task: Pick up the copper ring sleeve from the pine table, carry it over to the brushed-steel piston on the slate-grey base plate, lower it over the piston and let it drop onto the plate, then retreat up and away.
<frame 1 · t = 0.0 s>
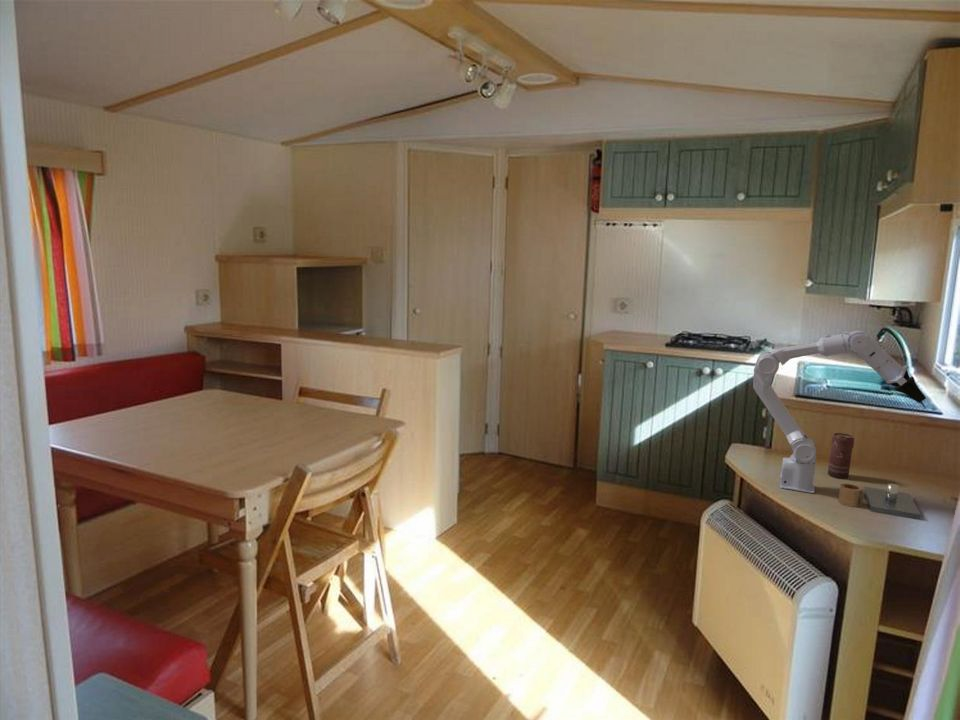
hand: (920, 397, 185), 32 cm above the kitchen counter, tool tilted 50°, fingers open, 7 cm apart
can: (838, 476, 214), on the kitchen counter
piston jig: (890, 504, 191), on the kitchen counter
ring: (849, 503, 191), on the kitchen counter
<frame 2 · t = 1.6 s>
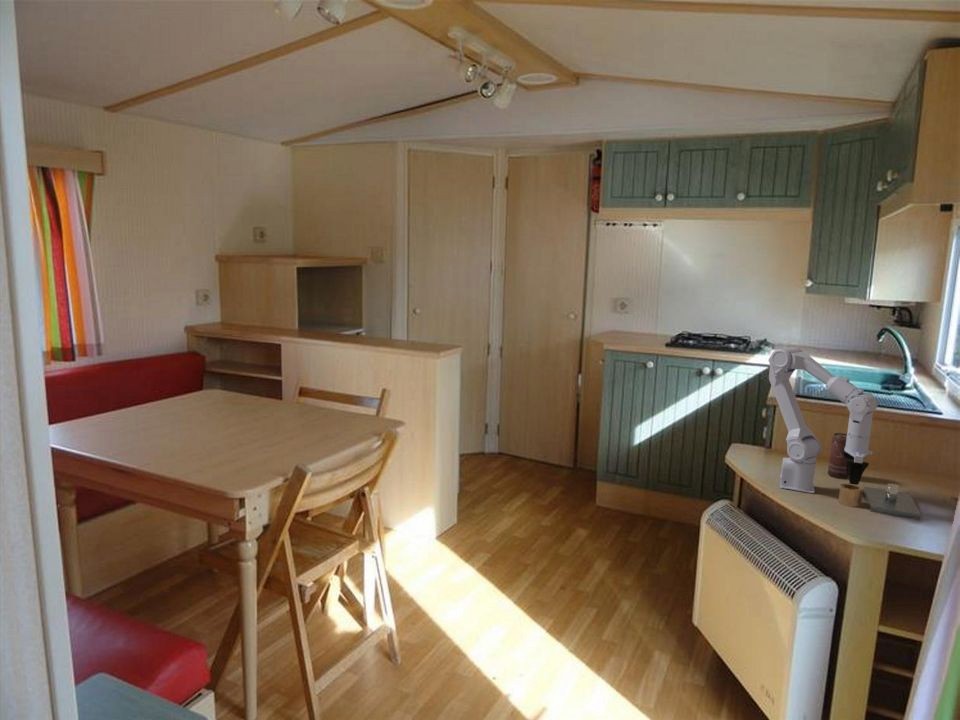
hand: (852, 479, 189), 7 cm above the kitchen counter, tool pointing down, fingers open, 7 cm apart
nothing on the kitchen counter moved.
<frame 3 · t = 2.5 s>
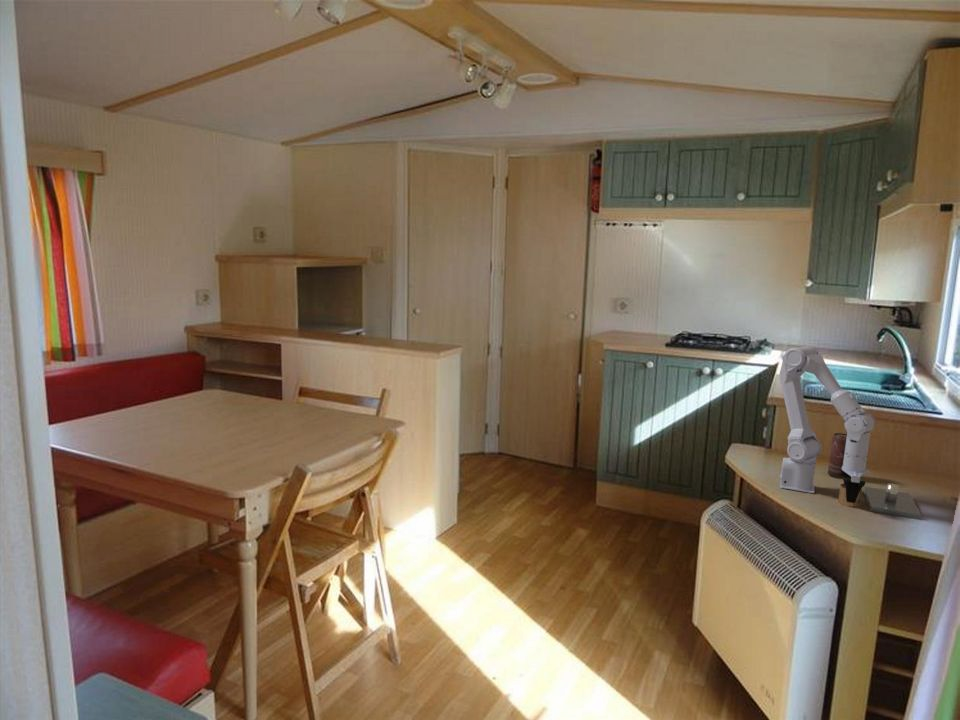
hand: (849, 498, 190), 1 cm above the kitchen counter, tool pointing down, fingers closed on ring, 5 cm apart
ring: (849, 503, 191), on the kitchen counter, touching gripper
everything else where it was.
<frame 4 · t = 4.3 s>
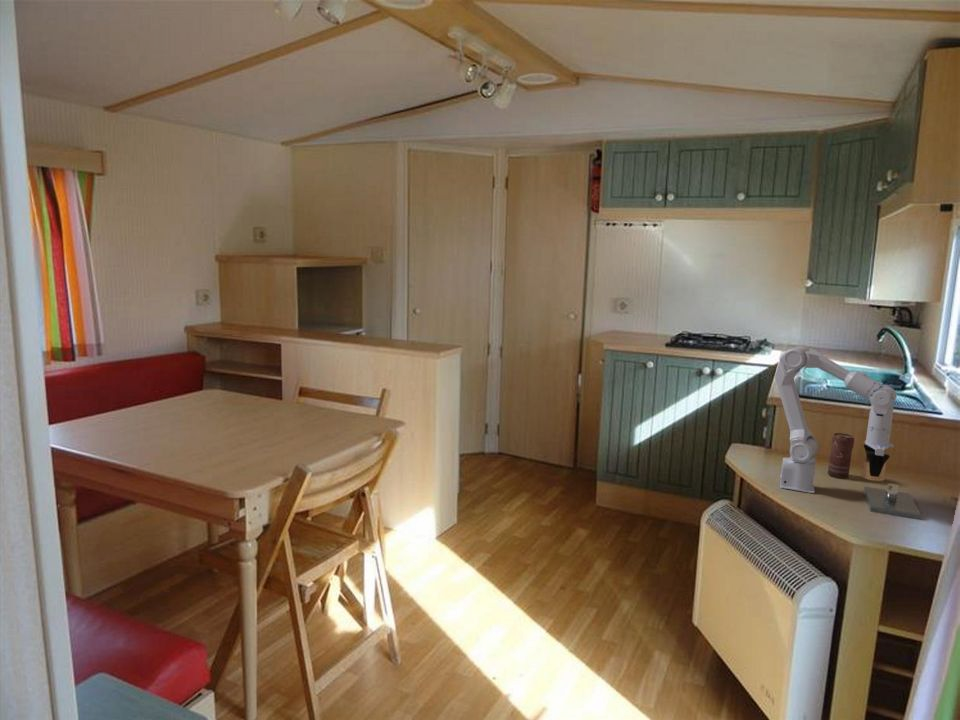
hand: (873, 473, 189), 10 cm above the kitchen counter, tool pointing down, fingers closed on ring, 5 cm apart
ring: (872, 477, 189), point 8 cm above the kitchen counter, touching gripper
everything else where it was.
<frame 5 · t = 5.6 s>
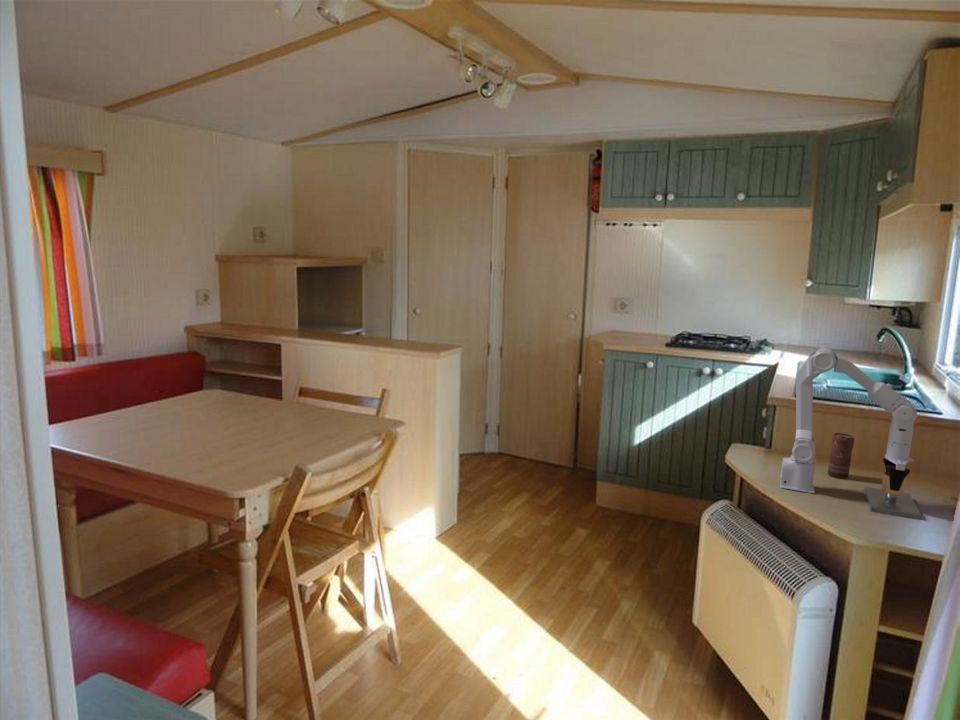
hand: (892, 486, 190), 5 cm above the kitchen counter, tool pointing down, fingers closed on ring, 5 cm apart
ring: (892, 491, 190), point 4 cm above the kitchen counter, touching gripper
everything else where it was.
when the fingers open (5 cm above the kitchen counter, at t = 6.4 s): ring drops 2 cm, resting on piston jig.
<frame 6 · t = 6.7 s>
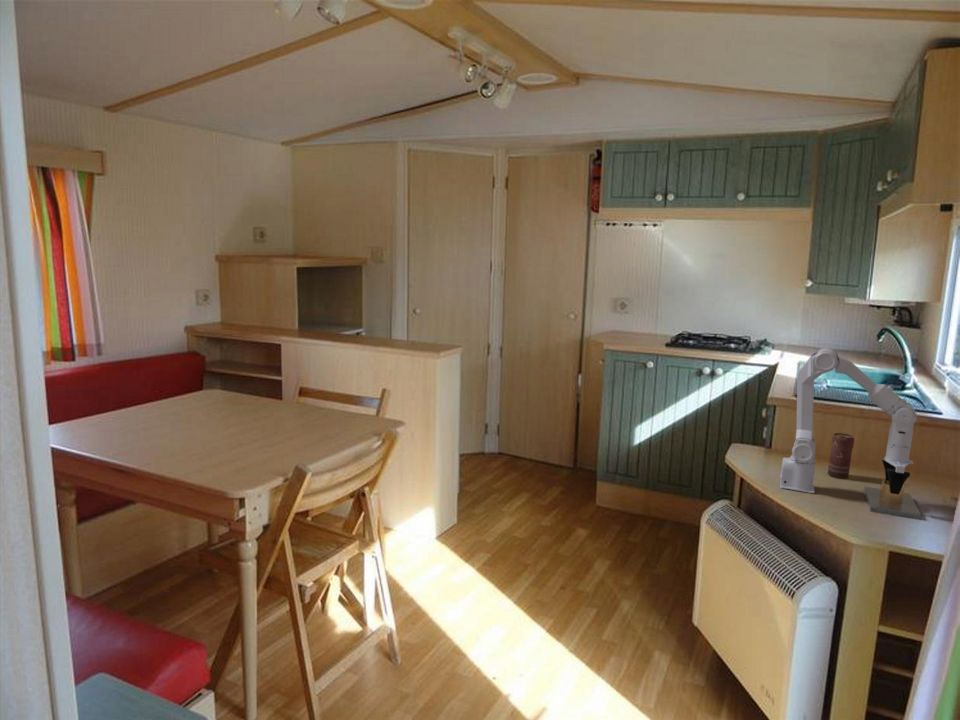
hand: (892, 489, 190), 5 cm above the kitchen counter, tool pointing down, fingers open, 7 cm apart
ring: (890, 499, 190), point 1 cm above the kitchen counter, touching piston jig
everything else where it was.
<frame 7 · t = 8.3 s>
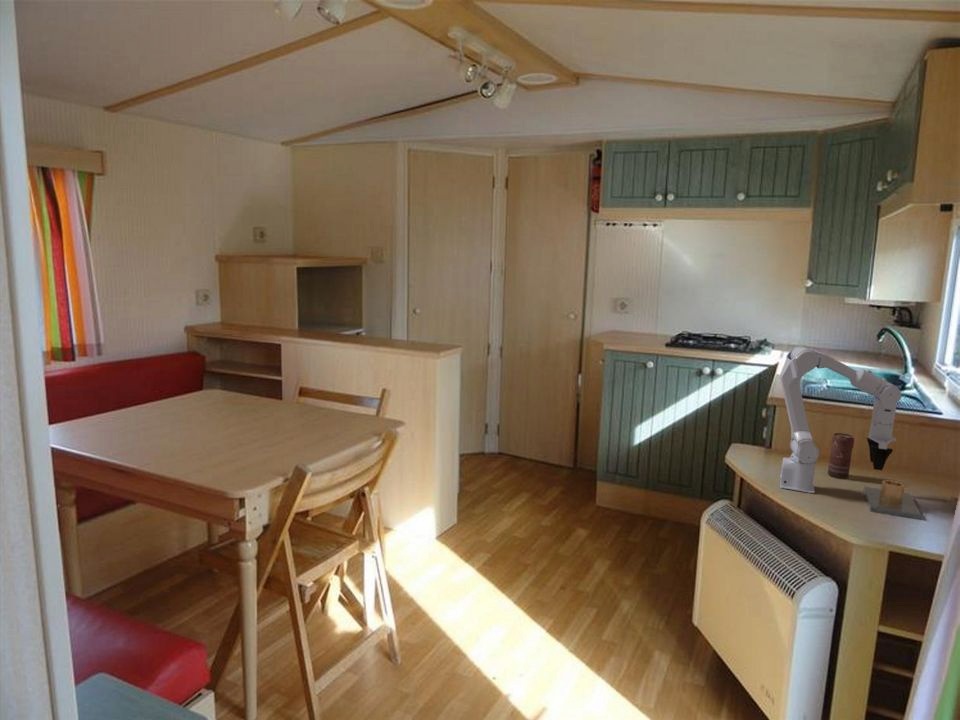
hand: (876, 465, 196), 9 cm above the kitchen counter, tool pointing down, fingers open, 7 cm apart
nothing on the kitchen counter moved.
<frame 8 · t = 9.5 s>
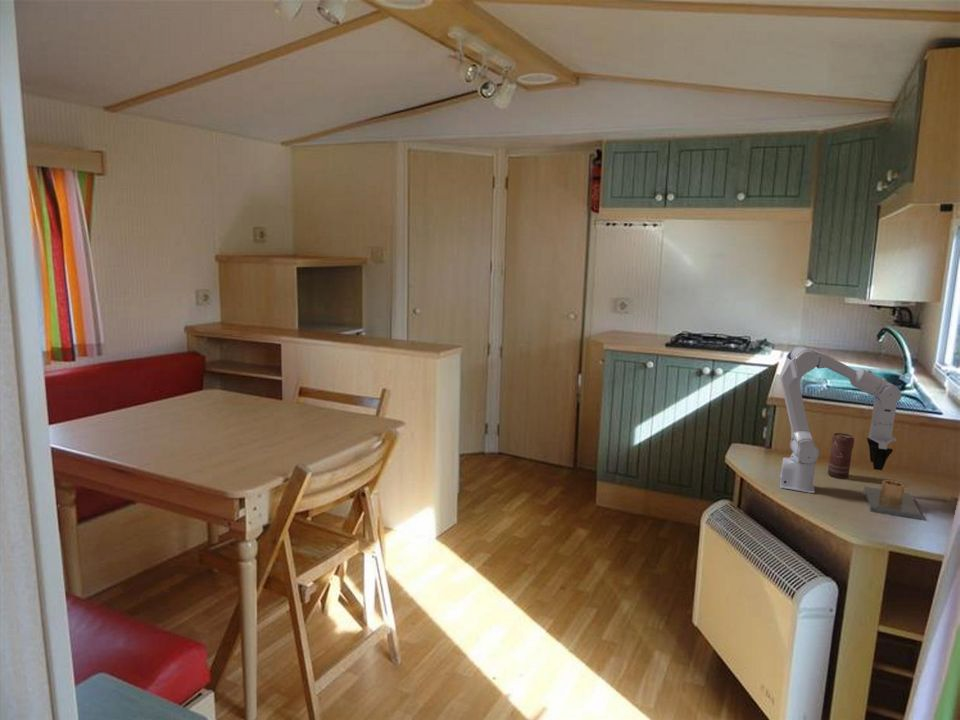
hand: (876, 465, 196), 9 cm above the kitchen counter, tool pointing down, fingers open, 7 cm apart
nothing on the kitchen counter moved.
at the end: ring 0.0 cm off-centre on the piston jig, point 1.5 cm above the piston jig's base; ring tilted 0°; the gripper is holding nothing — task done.
